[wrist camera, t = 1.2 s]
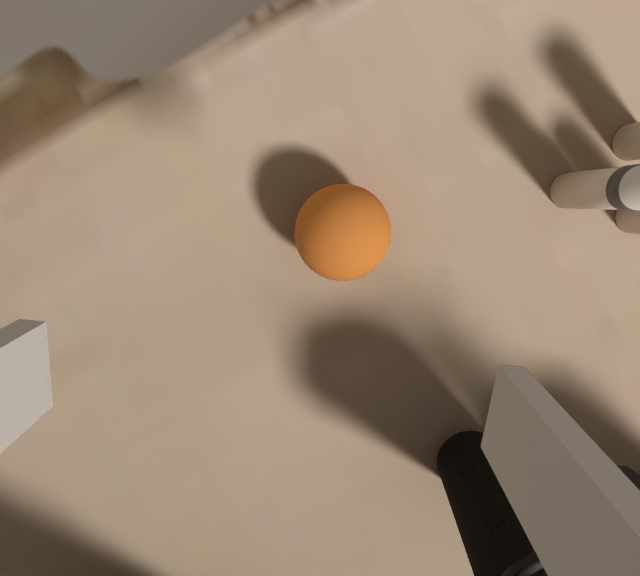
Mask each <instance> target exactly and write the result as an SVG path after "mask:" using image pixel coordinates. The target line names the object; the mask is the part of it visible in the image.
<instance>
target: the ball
mask: <svg viewBox="0 0 640 576" xmlns="http://www.w3.org/2000/svg"><path fill="white" fill-rule="evenodd" d="M294 235H295V242H296V246H297V249H298V252H299V254H300V256H301V258H302V259H303V261H304V262H305V263H306V265H307V266H308V267H309V268H310V269H311V270H313V271H314V272H315V273H317V274H319V275H320V276H322V277H325V278H327V279H331V280H336V281H348V280H354V279H357V278H360V277H363V276H365V275H366V274H368V273H370V272H371V271H372V270H374V269H375V268H376V267H377V266H378V265H379V264H380V262H381V261H382V260H383V258H384V257H385V255H386V253H387V250H388V247H389V244H390V239H391V225H390V220H389V217H388V214H387V212H386V210H385V208H384V206H383V205H382V203H381V202H380V201H379V200H378V198H377V197H376V196H374V195H373V194H372V193H371V192H369V191H367V190H366V189H364V188H361V187H359V186H355V185H351V184H335V185H330V186H327V187H325V188H322V189H320V190H319V191H317V192H315V193H314V194H313V195H311V196H310V197H309V198H308V199H307V201H306V202H305V203H304V204H303V206H302V207H301V209H300V211H299V213H298V216H297V219H296V223H295V234H294Z"/></svg>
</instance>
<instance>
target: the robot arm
mask: <svg viewBox="0 0 640 576" xmlns="http://www.w3.org/2000/svg"><path fill="white" fill-rule="evenodd" d="M51 407H53V403H52V390H51V377H50V364H49V351H48V338H47V325H46V322H44V321H34V320H23V319H19V320H17V321H15V322H13V323H11V324H9V325H7V326H6V327H4V328H2V329H0V453H1V452H2V451H3V450H5V449H6V448H7V447H8V446H9V445H10V444H11V443H12V442H14V441H15V440H16V439H17V438H18V437H19V436H20V435H21V434H22V433H24V432H25V431H26V430H27V429H28V428H29V427H30V426H31V425H33V424H34V423H35V422H36V421H37V420H38V419H39V418H40V417H41V416H43V415H44V414H45V413H46V412H47V411H48V410H49V409H50V408H51ZM481 448H482V450H483V452H484V454H485V456H486V458H487V460H488V462H489V464H490V466H491V468H492V470H493V471H494V473H495V475H496V477H497V479H498V481H499V483H500V485H501V487H502V489H503V491H504V493H505V495H506V496H507V498H508V500H509V502H510V504H511V506H512V508H513V510H514V512H515V514H516V516H517V518H518V519H519V521H520V523H521V525H522V527H523V529H524V531H525V533H526V535H527V537H528V539H529V541H530V543H531V544H532V546H533V548H534V550H535V552H536V554H537V556H538V558H539V560H540V562H541V564H542V566H543V567H544V569H545V571H546V573H547V575H548V576H640V475H638V474H637V473H635V472H634V471H632V470H631V469H629V468H628V467H626V466H617V465H615V463H614V462H613V461H612V460H611V459H610V458H609V457H608V456H607V455H606V454H605V453H604V452H603V451H602V450H601V448H600V447H599V446H598V445H597V444H596V443H595V442H594V441H593V440H592V439H591V438H590V437H589V436H588V434H587V433H586V432H585V431H584V430H583V429H582V428H581V427H580V426H579V425H578V424H577V423H576V422H575V420H574V419H573V418H572V417H571V416H570V415H569V414H568V413H567V412H566V411H565V410H564V409H563V408H562V407H561V405H560V404H559V403H558V402H557V401H556V400H555V399H554V398H553V397H552V396H551V395H550V394H549V393H548V391H547V390H546V389H545V388H544V387H543V386H542V385H541V384H540V383H539V382H538V381H537V380H536V379H535V378H534V376H533V375H532V374H531V373H530V372H529V371H528V370H527V369H526V368H525V367H518V366H507V365H498V370H497V374H496V379H495V383H494V388H493V392H492V397H491V402H490V406H489V411H488V415H487V420H486V424H485V429H484V433H483V438H482V442H481Z"/></svg>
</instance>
